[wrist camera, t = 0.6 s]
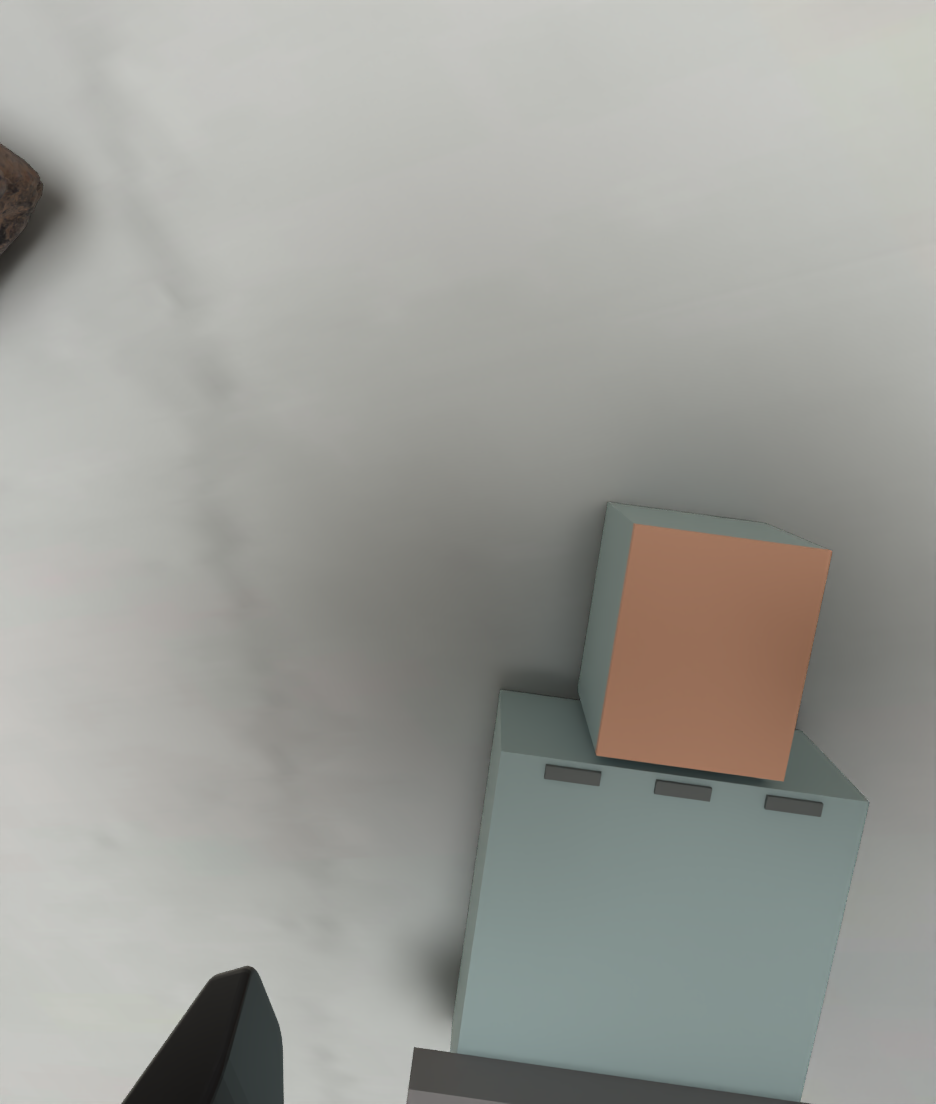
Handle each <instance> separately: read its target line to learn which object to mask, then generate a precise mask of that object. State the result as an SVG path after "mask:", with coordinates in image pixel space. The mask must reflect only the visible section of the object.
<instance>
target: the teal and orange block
mask: <svg viewBox="0 0 936 1104" xmlns="http://www.w3.org/2000/svg"><path fill="white" fill-rule="evenodd" d="M831 556H832V551H831V550H828V549H826V548H824V547H821V546H819V545H817V544H814V543H812V542H809V541H807V540H805V539H802V538H800V537H797V536H795V535H793V534H790V533H788V532H785V531H783V530H781V529H778V528H776V527H774V526H771V525H769V524H766V523H761V522H753V521H746V520H739V519H731V518H724V517H716V516H709V515H701V514H694V513H686V512H679V511H672V510H664V509H657V508H649V507H642V506H634V505H627V504H619V503H612V502H608V503H607V509H606V515H605V522H604V528H603V534H602V540H601V546H600V553H599V559H598V565H597V571H596V577H595V584H594V590H593V596H592V602H591V608H590V615H589V621H588V627H587V633H586V639H585V646H584V652H583V658H582V664H581V670H580V677H579V683H578V689H577V690H578V694H579V697H580V701H581V704H582V708H583V711H584V714H585V718H586V721H587V725H588V728H589V732H590V735H591V739H592V742H593V746H594V749H595V753H596V756H602V757H609V758H617V759H624V760H631V761H638V762H646V763H653V764H660V765H667V766H675V767H682V768H689V769H696V770H704V771H711V772H718V773H725V774H733V775H740V776H747V777H754V778H762V779H769V780H776V781H783V782H784V778H785V773H786V769H787V764H788V759H789V754H790V750H791V745H792V740H793V735H794V731H795V726H796V721H797V717H798V712H799V707H800V702H801V698H802V693H803V688H804V683H805V679H806V674H807V669H808V664H809V660H810V655H811V650H812V646H813V641H814V636H815V631H816V627H817V622H818V617H819V612H820V608H821V603H822V598H823V593H824V589H825V584H826V579H827V575H828V570H829V565H830V560H831Z"/></svg>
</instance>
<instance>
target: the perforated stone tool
mask: <svg viewBox="0 0 936 1104" xmlns="http://www.w3.org/2000/svg"><path fill="white" fill-rule="evenodd" d="M42 190H43V183H42V182H41V181H40V177H39V175H38V173H37V172H36V171H35V170H34V169H33V168H32V167H31V166H30V165H29V164H27V163H26V161H24V160H23V159H22V158H20V157H19V156H17V155H16V154H14V153H13V152H12V151H10V150H9V149H7V148H6V147H5V146H3V145H2V144H1V143H0V255H1V254H2V252H3V251H5V250H6V249H7V248H8V246H9V245H10V244H11V243H12V242H13V241H14V240H15V238H16V237H17V236H18V235H19V234H20V233H21V232H22V231H23V230H24V228H25V226H26V225H27V223H28V220H29V218H30V216H29V215H30V214H31V213H32V212H33V211H34V208H35V206H36V204H37V202H38V200H39V199H40V197H41V196H42Z"/></svg>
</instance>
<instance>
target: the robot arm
mask: <svg viewBox="0 0 936 1104" xmlns="http://www.w3.org/2000/svg"><path fill="white" fill-rule="evenodd" d="M122 1104H284V1093H283V1045H282V1037H281V1031H280V1027H279V1024H278V1021H277V1018H276V1016H275V1013H274V1011H273V1008H272V1006H271V1003H270V1001H269V998H268V996H267V993H266V991H265V988H264V986H263V983H262V981H261V978H260V976H259V974H258V972H257V971H256V970H255V969H254V968H253V967H250V966H244V967H241V968H237V969H234V970H230V971H226V972H223V973H219V974H217V975H215V976H213V977H212V978H211V979H210V980H209V981H208V982H207V983H206V985H205V986H204V988H203V989H202V991H201V992H200V993H199V995H198V996H197V998H196V999H195V1000H194V1002H193V1003H192V1005H191V1006H190V1007H189V1009H188V1010H187V1012H186V1013H185V1015H184V1016H183V1017H182V1019H181V1020H180V1022H179V1023H178V1024H177V1026H176V1027H175V1029H174V1030H173V1031H172V1033H171V1034H170V1036H169V1037H168V1039H167V1040H166V1041H165V1043H164V1044H163V1046H162V1047H161V1048H160V1050H159V1051H158V1053H157V1054H156V1055H155V1057H154V1058H153V1060H152V1061H151V1063H150V1064H149V1065H148V1067H147V1068H146V1070H145V1071H144V1072H143V1074H142V1075H141V1077H140V1078H139V1079H138V1081H137V1082H136V1084H135V1085H134V1087H133V1088H132V1089H131V1091H130V1092H129V1094H128V1095H127V1096H126V1098H125V1099H124V1101H123V1102H122Z"/></svg>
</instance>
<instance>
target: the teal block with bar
mask: <svg viewBox="0 0 936 1104" xmlns="http://www.w3.org/2000/svg"><path fill="white" fill-rule="evenodd" d="M868 807H869V801H868V800H867V799H866V798H865V797H864V796H863V795H862V794H861V793H860V792H859V791H858V789H857V788H856V787H855V786H854V785H853V784H852V783H851V782H850V781H849V780H848V779H847V778H846V777H845V776H844V775H843V774H842V773H841V772H840V771H839V770H838V768H837V767H836V766H835V765H834V764H833V763H832V762H831V761H830V760H829V759H828V758H827V757H826V756H825V755H824V754H823V753H822V752H821V751H820V750H819V749H818V747H817V746H816V745H815V744H814V743H813V742H812V741H811V740H810V739H809V738H808V737H807V736H806V735H805V734H804V733H803V732H802V731H798V730H795V731H794V735H793V740H792V745H791V750H790V754H789V759H788V764H787V769H786V773H785V778H784V782H783V781H776V780H769V779H762V778H754V777H747V776H740V775H733V774H725V773H718V772H711V771H704V770H696V769H689V768H682V767H675V766H667V765H660V764H653V763H646V762H638V761H631V760H624V759H617V758H609V757H602V756H596V753H595V749H594V746H593V742H592V739H591V735H590V732H589V728H588V725H587V721H586V718H585V714H584V711H583V708H582V704H581V701H580V700H573V699H565V698H558V697H551V696H543V695H536V694H529V693H522V692H514V691H507V690H500V695H499V702H498V709H497V716H496V723H495V730H494V737H493V744H492V751H491V758H490V764H489V771H488V778H487V785H486V792H485V799H484V806H483V813H482V820H481V827H480V834H479V841H478V848H477V854H476V861H475V868H474V875H473V882H472V889H471V896H470V903H469V910H468V917H467V924H466V931H465V937H464V944H463V951H462V958H461V965H460V972H459V979H458V986H457V993H456V1000H455V1007H454V1014H453V1021H452V1033H451V1047H450V1052H444V1051H437V1050H430V1049H423V1048H416V1047H414V1052H413V1059H412V1067H411V1074H410V1081H409V1089H408V1096H407V1103H406V1104H809V1103H802V1102H800V1100H801V1096H802V1092H803V1087H804V1083H805V1079H806V1074H807V1070H808V1066H809V1061H810V1057H811V1053H812V1048H813V1044H814V1040H815V1035H816V1031H817V1027H818V1022H819V1018H820V1014H821V1009H822V1005H823V1001H824V997H825V992H826V988H827V984H828V979H829V975H830V971H831V966H832V962H833V958H834V953H835V949H836V945H837V940H838V936H839V932H840V927H841V923H842V919H843V914H844V910H845V906H846V902H847V897H848V893H849V889H850V884H851V880H852V876H853V871H854V867H855V863H856V858H857V854H858V850H859V845H860V841H861V837H862V832H863V828H864V824H865V819H866V815H867V811H868Z"/></svg>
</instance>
